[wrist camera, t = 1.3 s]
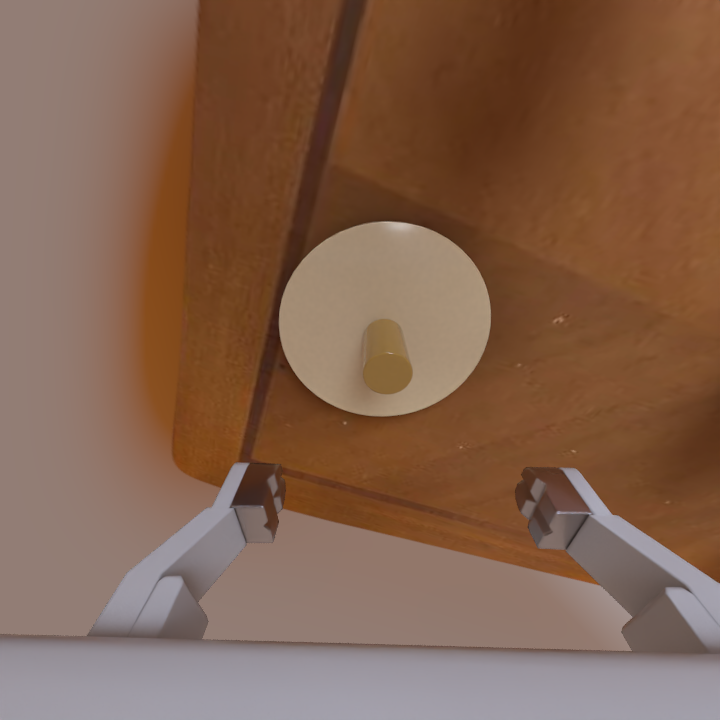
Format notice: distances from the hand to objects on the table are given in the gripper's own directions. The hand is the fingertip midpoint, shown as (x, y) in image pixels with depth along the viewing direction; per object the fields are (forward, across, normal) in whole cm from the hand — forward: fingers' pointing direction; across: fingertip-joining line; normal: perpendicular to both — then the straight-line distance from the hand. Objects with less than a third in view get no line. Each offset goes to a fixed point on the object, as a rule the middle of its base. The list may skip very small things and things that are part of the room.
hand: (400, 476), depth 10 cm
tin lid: (+11, 0, 0) cm, 11 cm away
